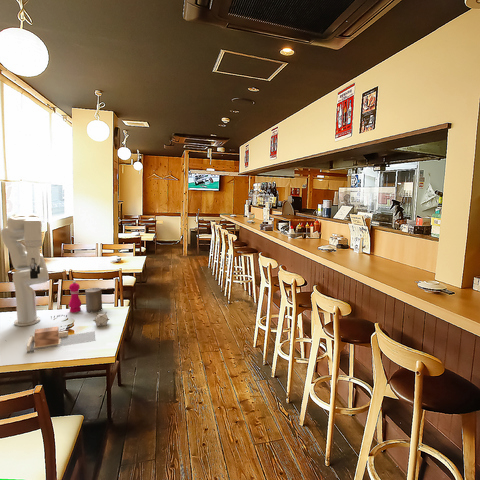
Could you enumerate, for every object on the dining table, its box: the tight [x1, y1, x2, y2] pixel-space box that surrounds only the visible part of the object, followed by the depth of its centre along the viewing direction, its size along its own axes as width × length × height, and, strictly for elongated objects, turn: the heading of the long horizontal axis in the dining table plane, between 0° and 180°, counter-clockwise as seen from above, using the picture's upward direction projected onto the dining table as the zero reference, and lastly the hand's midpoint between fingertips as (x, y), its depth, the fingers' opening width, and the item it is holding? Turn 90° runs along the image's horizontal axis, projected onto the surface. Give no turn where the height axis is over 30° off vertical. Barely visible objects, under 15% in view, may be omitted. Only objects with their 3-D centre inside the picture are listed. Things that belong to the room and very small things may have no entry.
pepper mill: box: [68, 280, 82, 314], centre depth 208 cm, size 7×7×20 cm
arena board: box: [26, 330, 97, 354], centre depth 167 cm, size 12×30×4 cm, turn 116°
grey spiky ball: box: [92, 311, 111, 327], centre depth 187 cm, size 9×8×10 cm
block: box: [34, 325, 60, 347], centre depth 163 cm, size 10×5×7 cm, turn 117°
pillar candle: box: [84, 287, 103, 313], centre depth 212 cm, size 10×10×15 cm
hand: (35, 276), depth 167 cm, fingers open, 9 cm apart
